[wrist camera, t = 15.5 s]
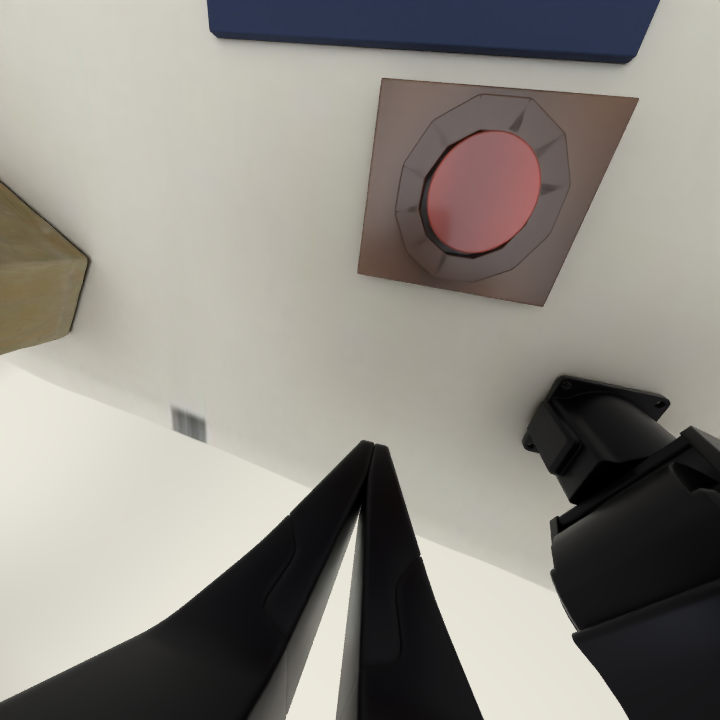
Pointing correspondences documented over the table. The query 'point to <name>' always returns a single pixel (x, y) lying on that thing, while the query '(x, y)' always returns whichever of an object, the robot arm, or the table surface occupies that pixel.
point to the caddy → (34, 277)
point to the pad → (447, 25)
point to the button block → (443, 132)
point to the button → (483, 191)
